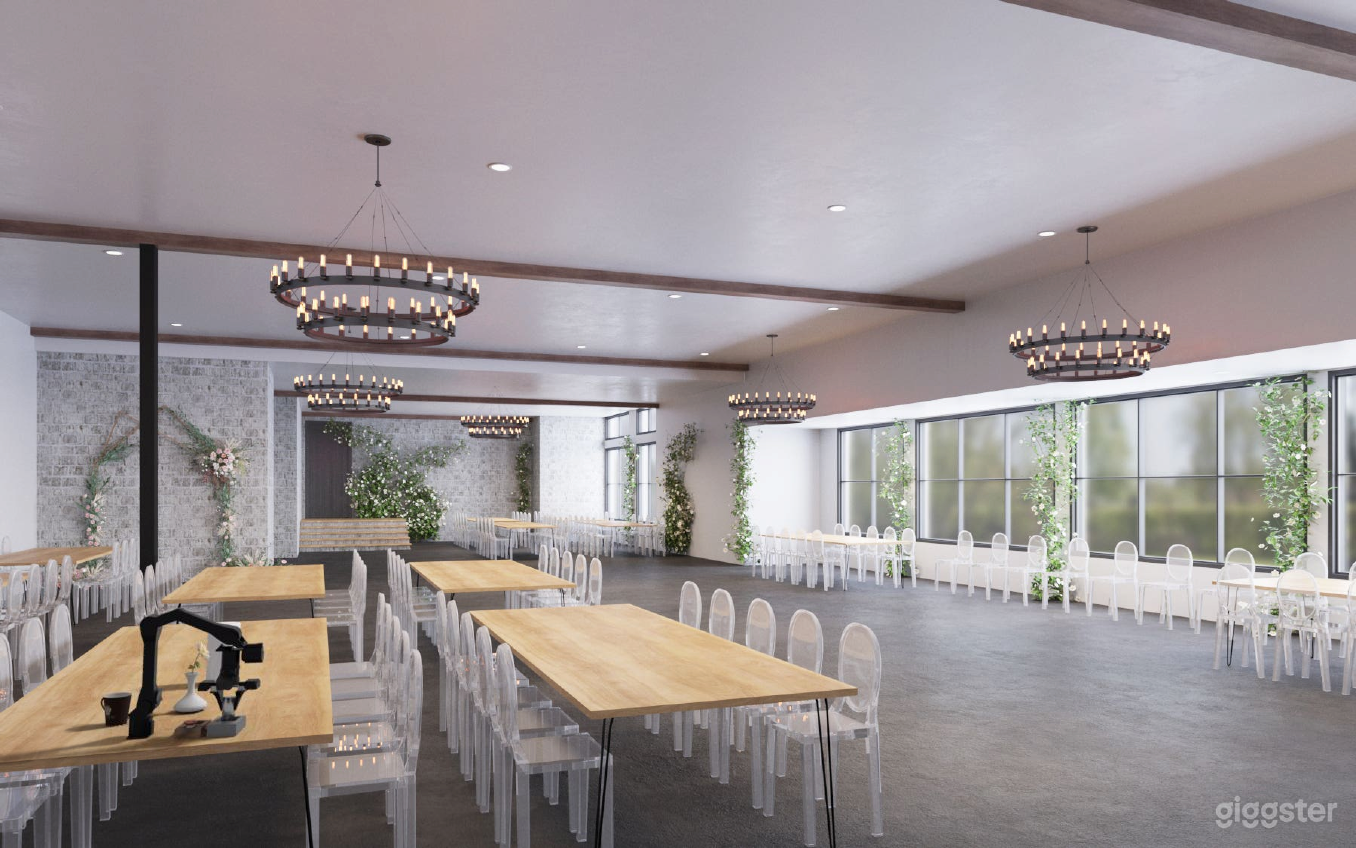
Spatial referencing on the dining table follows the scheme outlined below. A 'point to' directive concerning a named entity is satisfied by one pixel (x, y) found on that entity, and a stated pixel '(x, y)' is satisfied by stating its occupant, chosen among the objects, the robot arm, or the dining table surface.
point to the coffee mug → (116, 708)
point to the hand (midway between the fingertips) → (228, 710)
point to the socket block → (192, 730)
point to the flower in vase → (193, 686)
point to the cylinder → (215, 654)
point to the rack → (226, 727)
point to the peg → (228, 708)
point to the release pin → (190, 723)
